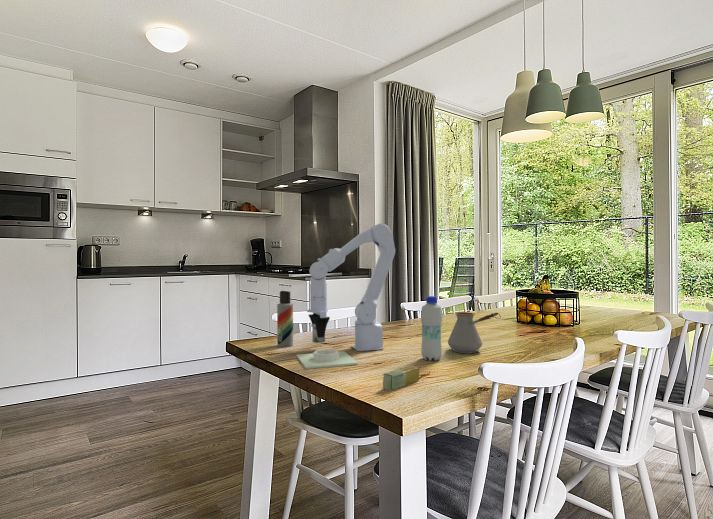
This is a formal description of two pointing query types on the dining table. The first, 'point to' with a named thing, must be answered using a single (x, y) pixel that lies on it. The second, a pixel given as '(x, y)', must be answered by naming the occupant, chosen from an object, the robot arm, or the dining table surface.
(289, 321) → the lotion bottle
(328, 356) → the duct flange
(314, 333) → the silver canister
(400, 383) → the medication box
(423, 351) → the bottle
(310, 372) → the dining table surface
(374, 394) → the dining table surface
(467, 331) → the coffee pot
